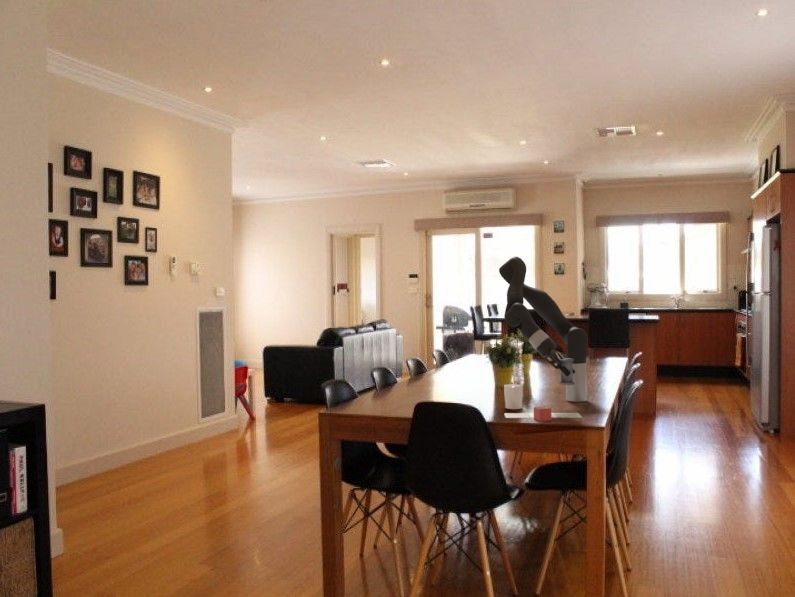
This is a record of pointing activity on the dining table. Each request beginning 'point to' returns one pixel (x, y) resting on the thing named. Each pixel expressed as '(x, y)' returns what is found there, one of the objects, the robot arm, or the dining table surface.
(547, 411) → the red die
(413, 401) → the dining table surface
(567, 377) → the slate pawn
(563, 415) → the game track
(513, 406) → the white cup
